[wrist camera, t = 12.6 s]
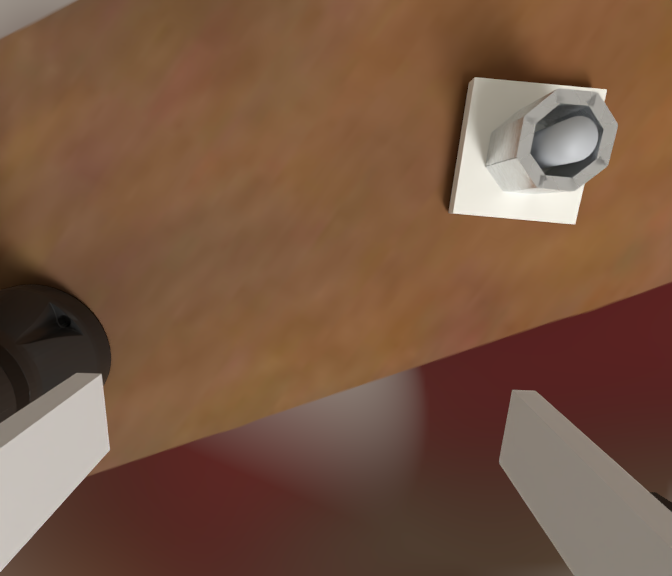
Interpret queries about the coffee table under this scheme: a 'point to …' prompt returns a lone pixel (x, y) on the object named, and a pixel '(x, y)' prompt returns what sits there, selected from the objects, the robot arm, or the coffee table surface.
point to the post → (547, 149)
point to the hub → (517, 135)
